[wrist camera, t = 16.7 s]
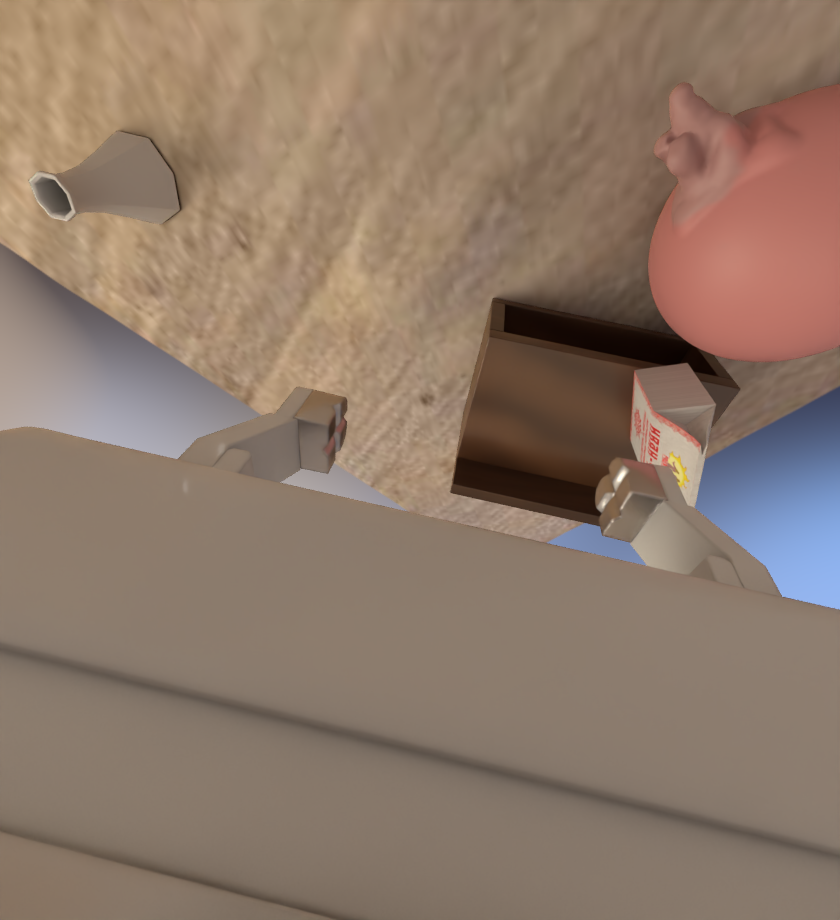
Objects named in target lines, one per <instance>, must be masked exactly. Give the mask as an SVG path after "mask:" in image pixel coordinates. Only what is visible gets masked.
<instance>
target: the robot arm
mask: <svg viewBox="0 0 840 920" xmlns="http://www.w3.org/2000/svg"><path fill="white" fill-rule="evenodd" d="M346 411H347V399H346V397H342V396H338V395H334V394H329V393H325V392H321V391H317V390H313V389H308V388H304V387H296V388H295V389H294V390H293V392H292V393H291V394H290V395H289V397H288V398H287V399H286V400H285V402H284V403H283V404H282V405H281V407H280V408H279V409H278V410H277V412H276V413H275V414H272V413H269V414H266V415H263V416H260V417H257V418H255V419H252V420H249V421H246V422H243V423H240V424H237V425H235V426H232V427H229V428H226V429H223V430H220V431H217V432H215V433H212V434H209V435H206V436H203V437H200V438H198V439H196V441H195V442H194V443H193V444H192V445H191V446H190V447H189V448H188V449H187V450H186V451H185V452H184V453H183V454H182V455H181V456H180V457H179V458H178V459H173V458H168V457H164V456H160V455H156V454H151V453H147V452H142V451H138V450H134V449H129V448H125V447H120V446H116V445H111V444H107V443H102V442H98V441H94V440H89V439H85V438H80V437H76V436H72V435H68V434H64V433H60V432H56V431H52V430H48V429H43V428H35V427H21V428H15V429H9V430H3V431H0V920H840V610H839V609H834V608H830V607H825V606H821V605H816V604H812V603H808V602H803V601H799V600H794V599H790V598H786V597H782V595H781V594H780V592H779V590H778V588H777V586H776V584H775V583H774V581H773V579H772V577H771V575H770V574H769V572H768V570H767V568H766V567H765V566H764V565H763V564H762V563H761V562H759V561H758V560H757V559H756V558H755V557H753V556H752V555H751V554H750V553H748V552H747V551H746V550H745V549H744V548H742V547H741V546H740V545H739V544H738V543H736V542H735V541H734V540H733V539H732V538H730V537H729V536H728V535H727V534H726V533H724V532H723V531H722V530H721V529H720V528H718V527H717V526H716V525H715V524H713V523H712V522H711V521H710V520H709V519H707V518H706V517H705V516H704V515H702V514H701V513H700V512H699V511H698V510H697V509H695V508H694V507H693V506H688V505H687V503H686V500H685V498H684V496H683V494H682V492H681V489H680V487H679V485H678V483H677V480H676V478H675V476H674V474H673V472H672V470H671V469H670V468H669V467H666V466H661V465H656V464H649V463H644V462H639V461H634V460H629V459H624V458H619V457H616V458H614V459H613V460H612V462H611V463H610V465H609V467H608V468H609V472H610V474H608V475H606V476H605V477H603V478H601V480H600V482H599V484H598V486H597V489H596V493H595V504H596V508H597V509H598V510H599V511H600V512H601V513H602V514H601V515H600V517H599V518H598V519H599V524H600V528H601V533H602V536H606V537H610V538H614V539H618V540H622V541H626V542H630V543H631V545H632V546H633V548H634V549H635V550H636V552H637V553H638V554H639V556H640V557H641V558H642V560H643V561H644V562H645V563H646V565H647V566H645V565H641V564H636V563H632V562H627V561H623V560H619V559H614V558H609V557H605V556H601V555H596V554H592V553H588V552H583V551H579V550H574V549H570V548H566V547H561V546H557V545H552V544H548V543H544V542H539V541H535V540H530V539H526V538H521V537H517V536H513V535H508V534H504V533H499V532H495V531H491V530H486V529H482V528H477V527H473V526H469V525H464V524H460V523H455V522H451V521H447V520H442V519H438V518H433V517H429V516H425V515H420V514H416V513H411V512H407V511H402V510H398V509H394V508H389V507H385V506H380V505H376V504H372V503H367V502H363V501H358V500H354V499H350V498H345V497H341V496H336V495H332V494H328V493H323V492H319V491H314V490H310V489H306V488H301V487H297V486H292V485H288V484H283V483H280V482H281V481H283V480H285V479H286V478H288V477H289V476H291V475H293V474H294V473H296V472H298V471H299V470H300V468H301V469H307V470H312V471H317V472H322V473H327V474H328V473H329V471H330V469H331V467H332V465H333V463H334V461H335V453H336V452H338V451H340V449H341V447H342V445H343V442H344V439H345V435H346V428H347V421H346V420H345V418H344V415H345V413H346Z"/></svg>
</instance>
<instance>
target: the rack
mask: <svg viewBox="0 0 840 920" xmlns="http://www.w3.org/2000/svg"><path fill="white" fill-rule="evenodd" d="M683 363H688V365H689V366H690V367H691V369H692V370H693V372H694V373H695V375H696V376H697V378H698V379H699V380H700V382H701V383H702V385H703V386H704V388H705V389H706V391H707V392H708V393H709V395H710V396H711V398H712V399H713V401H714V402H715V404H716V406H715V411H714V416H713V421H712V426H711V428H712V427H713V425H714V424H715V423H716V421H717V420H718V419H719V417H720V416H721V415H722V413H723V412H724V411H725V409H726V408H727V407H728V405H729V404H730V403H731V401H732V400H733V399H734V397H735V396H736V395H737V393H738V392H739V391H740V388H739V386H738V385H737V384H736V383H735V381H734V380H733V379H732V377H731V376H730V375H729V374H728V373H727V371H726V370H725V369H724V368H723V366H722V365H721V364H720V363H719V362H718V360H717V359H716V358H715V357H714V355H713V354H710V353H708V352H705V351H703V350H701V349H699V348H697V347H695V346H693V345H692V344H690V343H688V342H687V341H686V340H684V339H683V338H682V337H680V336H675V335H670V334H666V333H661V332H656V331H651V330H646V329H641V328H636V327H632V326H627V325H622V324H617V323H612V322H607V321H602V320H598V319H593V318H588V317H583V316H578V315H573V314H568V313H564V312H559V311H554V310H549V309H544V308H539V307H534V306H530V305H525V304H520V303H515V302H510V301H505V300H500V299H496V298H493V300H492V304H491V308H490V311H489V315H488V319H487V323H486V327H485V331H484V335H483V339H482V343H481V347H480V351H479V355H478V358H477V362H476V366H475V370H474V374H473V378H472V382H471V386H470V390H469V394H468V398H467V402H466V405H465V409H464V413H463V418H462V424H461V430H460V436H459V442H458V448H457V454H456V461H455V467H454V473H453V479H452V485H451V491H450V493H453V494H458V495H462V496H467V497H471V498H476V499H480V500H485V501H489V502H494V503H498V504H502V505H507V506H511V507H516V508H520V509H525V510H529V511H534V512H538V513H543V514H547V515H552V516H556V517H561V518H565V519H570V520H574V521H579V522H583V523H588V524H592V525H597V526H600V524H599V519H598V518H599V517H600V515H601V514H602V513H601V512H600V511H599V510H598V509H597V508H596V504H595V493H596V489H597V486H598V484H599V482H600V480H601V478H603V477H605V476H606V475H608V474H610V472H609V468H608V467H609V465H610V463H611V462H612V460H613V459H614V458H616V457H619V458H624V459H629V460H634V461H638V460H637V457H636V454H635V451H634V449H633V446H632V443H631V440H630V429H631V414H632V398H633V383H634V370H638V369H646V368H653V367H661V366H668V365H676V364H683Z"/></svg>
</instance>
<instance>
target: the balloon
mask: <svg viewBox="0 0 840 920" xmlns="http://www.w3.org/2000/svg"><path fill="white" fill-rule="evenodd" d="M669 104H670V110H669V114H670V120H671V129H670V130H668V131H667V132H666V133H665V134H663V135H662V136H661V137H660V138H659V139H658V140H657V142H656V144H655V146H654V154H655V156H656V157H658V158H660V159H662V160H663V161H664V163H665V164H666V165H667V167H668V169H669V171H670V172H671V173H672V174H674V175H675V176H676V177H677V180H678V184H677V185H676V187H675V188H674V190H673V191H672V193H671V195H670V196H669V198H668V200H667V201H666V203H665V205H664V207H663V209H662V211H661V214H660V216H659V218H658V221H657V223H656V226H655V229H654V233H653V236H652V240H651V245H650V251H649V261H648V272H649V282H650V287H651V291H652V295H653V298H654V301H655V303H656V306H657V308H658V310H659V312H660V313H661V315H662V317H663V318H664V320H665V321H666V322H667V323H668V325H669V326H670V327H671V328H672V329H673V330H674V331H675V332H676V333H677V334H678V335H679V336H680V337H682V338H683V339H684V340H686V341H687V342H688V343H690V344H692V345H693V346H695V347H697V348H699V349H701V350H703V351H705V352H708V353H710V354H713V355H716V356H720V357H723V358H728V359H733V360H739V361H748V362H774V361H784V360H791V359H797V358H802V357H806V356H810V355H814V354H818V353H821V352H824V351H827V350H830V349H833V348H836V347H838V346H840V84H836V85H831V86H826V87H821V88H817V89H813V90H810V91H806V92H803V93H800V94H797V95H794V96H792V97H789V98H787V99H784V100H782V101H780V102H775V103H771V104H767V105H764V106H759V107H755V108H751V109H748V110H745V111H743V112H741V113H739V114H737V115H735V116H734V117H733V116H732V115H730V114H729V113H724V112H719V111H717V110H715V109H714V108H713V107H712V106H711V105H710V104H709V103H707V102H706V101H705V100H704V99H703V98H701V97H700V96H697V95H695V93H694V91H693V87H692V85H691V84H689V83H685V82H683V83H680V84H678V85H677V86H676V87H675V88H674V89H673V91H672V92H671V94H670V97H669Z"/></svg>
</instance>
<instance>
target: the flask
mask: <svg viewBox="0 0 840 920" xmlns="http://www.w3.org/2000/svg"><path fill="white" fill-rule="evenodd" d="M29 183H30V186H31V188H32V191H33V193H34V196H35V199H36V201H37V202H38V203H39V204H40V205H41V206H42V208H43V209H44V210H45V211H46V212H47V213H48V214H49V216H50V217H51V218H55V219H59V220H64V221H70V220H71V219H72V218H74V217H75V216H76V215H77V214H80V213H84V212H102V213H109V214H114V215H119V216H125V217H130V218H134V219H138V220H142V221H147V222H151V223H156V224H162V223H164V222H165V221H166V220H168V219H169V218H170V217H171V216H173V215H174V214H175V213H177V212H178V211H179V210H180V207H179V202H178V196H177V191H176V186H175V180H174V175H173V173H172V171H171V170H170V168H169V167H168V166H167V164H166V163H165V161H164V160H163V158H162V157H161V155H160V154H159V153H158V151H157V150H156V148H155V147H154V145H153V144H152V142H151V141H150V140H149V138H146V137H141V136H137V135H133V134H128V133H124V132H119V131H116V132H115V133H114V134H113V135H111V136H110V137H109V138H108V139H107V140H106V141H105V142H104V143H103V144H102V145H101V146H100V147H99V148H98V149H97V150H96V151H95V152H94V153H93V154H91V155H90V156H89V157H88V158H87V159H86V160H84V161H83V162H82V163H81V164H80V165H78V166H76V167H74V168H72V169H70V170H68V171H65V172H63V173H58V174H52V173H48V172H44V171H37V172H36V173H35V174H34V176H33V177H32V178H31V179H30V180H29Z"/></svg>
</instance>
